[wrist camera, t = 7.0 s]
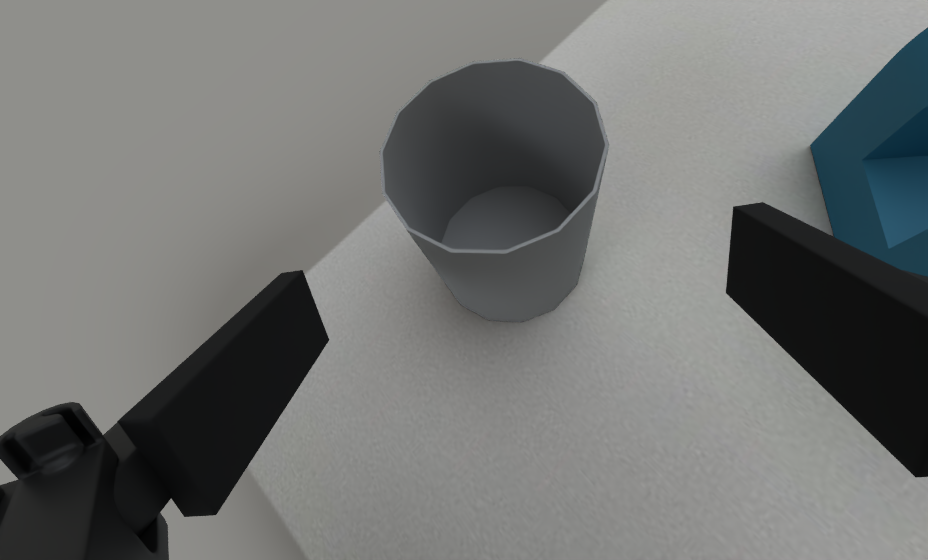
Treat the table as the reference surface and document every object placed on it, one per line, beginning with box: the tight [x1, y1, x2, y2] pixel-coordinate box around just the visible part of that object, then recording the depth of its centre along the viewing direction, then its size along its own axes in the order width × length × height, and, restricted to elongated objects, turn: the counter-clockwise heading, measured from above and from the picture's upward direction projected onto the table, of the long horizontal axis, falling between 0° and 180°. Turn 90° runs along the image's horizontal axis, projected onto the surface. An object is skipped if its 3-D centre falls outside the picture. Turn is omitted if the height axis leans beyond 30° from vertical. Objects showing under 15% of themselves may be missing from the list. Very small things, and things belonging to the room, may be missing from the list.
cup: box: [380, 58, 609, 322], centre depth 20 cm, size 8×8×10 cm
